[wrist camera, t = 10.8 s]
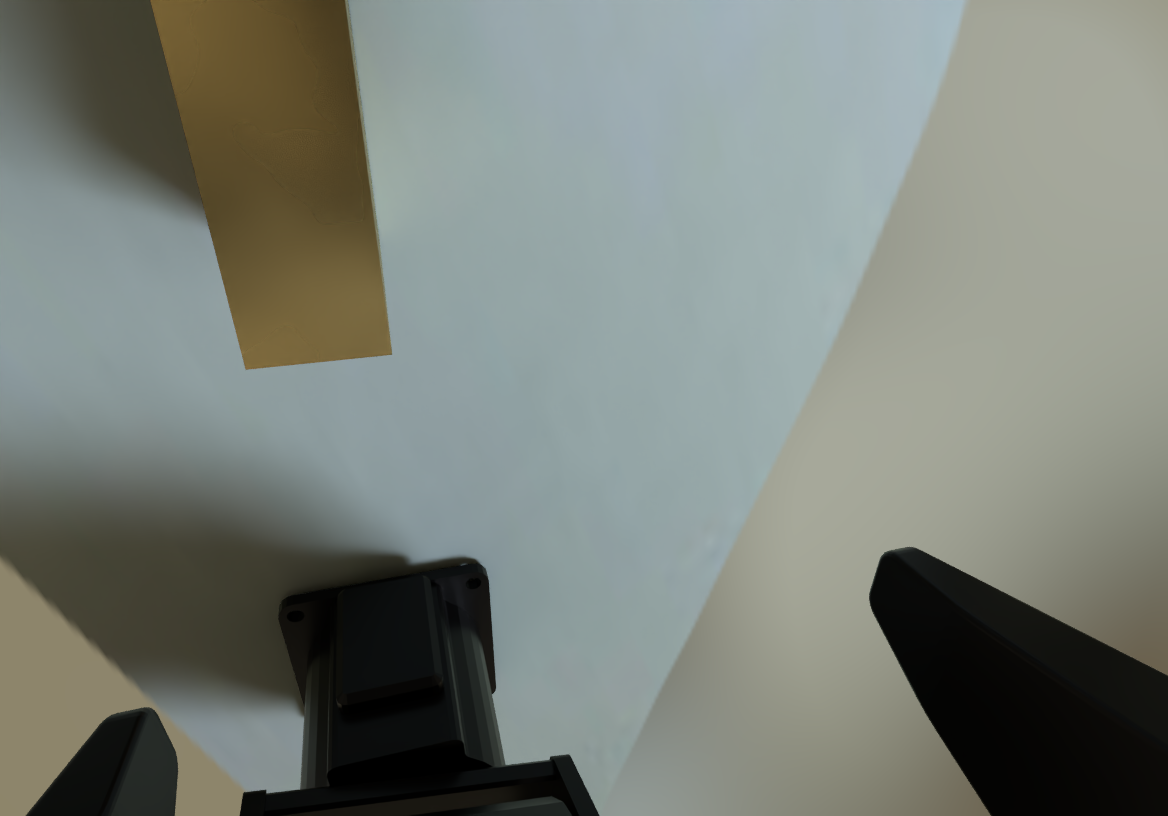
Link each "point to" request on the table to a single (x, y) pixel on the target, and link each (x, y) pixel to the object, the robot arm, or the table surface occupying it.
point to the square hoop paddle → (282, 172)
